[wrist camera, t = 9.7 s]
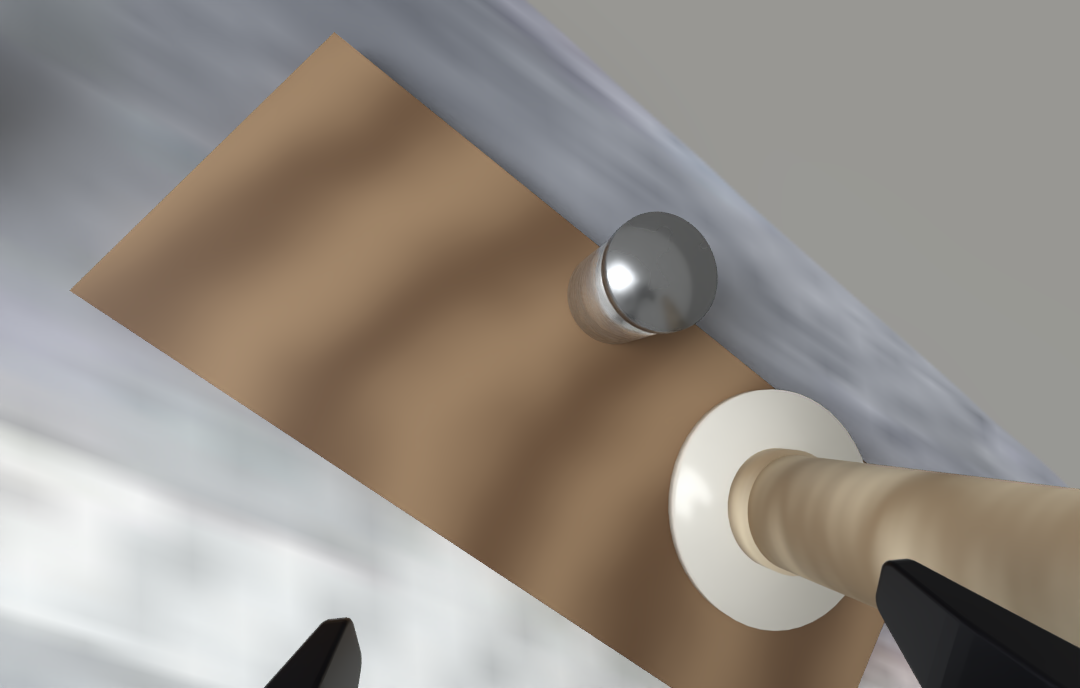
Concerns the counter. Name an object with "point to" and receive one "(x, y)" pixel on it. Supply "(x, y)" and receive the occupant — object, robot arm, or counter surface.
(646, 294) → the spice tin
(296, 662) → the robot arm
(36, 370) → the counter surface
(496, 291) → the serving board
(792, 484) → the pepper mill
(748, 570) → the white saucer
